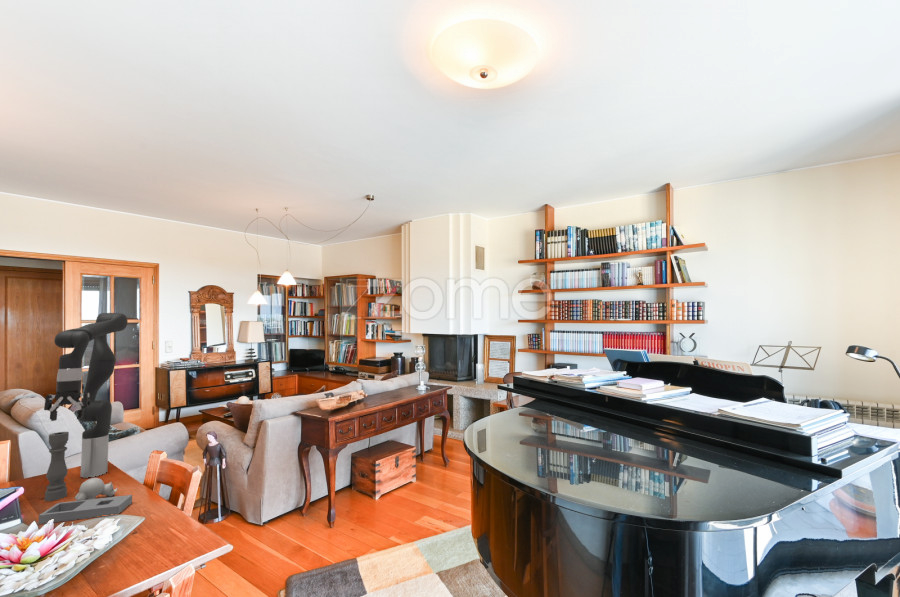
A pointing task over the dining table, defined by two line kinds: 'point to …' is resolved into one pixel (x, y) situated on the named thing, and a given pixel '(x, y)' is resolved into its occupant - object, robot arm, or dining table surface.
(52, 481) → the candle holder
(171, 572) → the dining table surface
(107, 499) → the hole board
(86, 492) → the toy rhinoceros
